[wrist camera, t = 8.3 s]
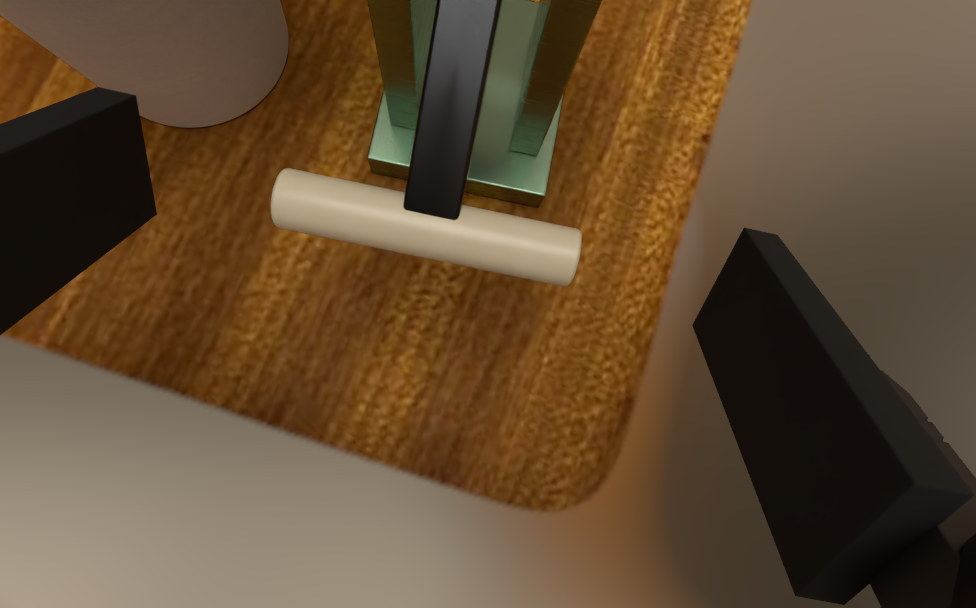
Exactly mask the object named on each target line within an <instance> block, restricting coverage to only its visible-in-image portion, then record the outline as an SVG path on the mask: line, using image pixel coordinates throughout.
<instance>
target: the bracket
mask: <svg viewBox="0 0 976 608" xmlns="http://www.w3.org/2000/svg"><path fill="white" fill-rule="evenodd" d="M367 1H368V6H369V11H370V17H371V22H372V27H373V33H374V38H375V43H376V49H377V54H378V59H379V65H380V70H381V75H382V81H383V86H384V89H383V93H382V98H381V102H380V106H379V110H378V114H377V118H376V122H375V127H374V131H373V135H372V139H371V143H370V147H369V151H368V155H367V159H368V162H369V165H370V168H371V171H372V172H374V173H379V174H384V175H388V176H393V177H398V178H402V179H407V178H408V172H409V166H410V160H411V154H412V148H413V142H414V136H415V130H416V124H417V118H418V111H419V105H420V99H421V93H422V87H423V81H424V75H425V69H426V63H427V57H428V51H429V45H430V39H431V33H432V27H433V21H434V15H435V9H436V3H437V0H367ZM601 2H602V0H540V3H538V2H534V1H530V0H503V1H502V6H501V11H500V16H499V21H498V27H497V32H496V37H495V42H494V47H493V52H492V57H491V63H490V68H489V73H488V78H487V83H486V88H485V93H484V99H483V104H482V109H481V114H480V119H479V124H478V129H477V135H476V140H475V145H474V150H473V155H472V160H471V165H470V171H469V176H468V181H467V186H466V191H465V192H468V193H473V194H478V195H482V196H487V197H492V198H496V199H501V200H506V201H511V202H515V203H520V204H525V205H529V206H534V207H540V205H541V203H542V201H543V199H544V197H545V196H546V190H547V185H548V179H549V174H550V168H551V163H552V157H553V152H554V146H555V141H556V135H557V129H558V124H559V118H560V113H561V107H562V102H563V96H564V91H565V89H566V86H567V84H568V81H569V79H570V77H571V74H572V72H573V69H574V67H575V64H576V62H577V60H578V57H579V55H580V52H581V50H582V48H583V45H584V43H585V40H586V38H587V36H588V33H589V31H590V28H591V26H592V23H593V21H594V19H595V16H596V14H597V11H598V9H599V7H600V4H601Z"/></svg>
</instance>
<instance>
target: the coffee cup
mask: <svg viewBox="0 0 976 608" xmlns="http://www.w3.org/2000/svg"><path fill="white" fill-rule="evenodd" d="M0 16H2V17H3V18H4V19H6V20H7V21H9V22H10V23H11V24H13V25H14V26H15V27H17V28H18V29H20V30H21V31H22V32H24V33H25V34H27V35H28V36H29V37H31V38H32V39H33V40H35V41H36V42H38V43H39V44H40V45H42V46H43V47H44V48H46V49H47V50H49V51H50V52H51V53H53V54H54V55H56V56H57V57H58V58H60V59H61V60H62V61H64V62H65V63H67V64H68V65H69V66H71V67H72V68H73V69H75V70H76V71H78V72H79V73H80V74H82V75H83V76H85V77H86V78H87V79H89V80H90V81H91V82H93V83H94V84H96V85H97V86H98V87H101V88H105V89H110V90H114V91H119V92H123V93H128V94H133V95H136V98H137V104H138V109H139V115H140V116H142V117H144V118H146V119H149V120H151V121H154V122H157V123H160V124H164V125H168V126H174V127H183V128H196V127H206V126H212V125H216V124H220V123H223V122H226V121H229V120H232V119H234V118H236V117H238V116H240V115H242V114H244V113H246V112H247V111H249V110H250V109H252V108H253V107H254V106H256V105H257V104H258V103H259V102H261V101H262V100H263V99H264V98H265V97H266V96H267V95H268V93H269V92H270V91H271V90H272V88H273V87H274V86H275V84H276V83H277V81H278V79H279V77H280V76H281V73H282V71H283V69H284V66H285V63H286V59H287V55H288V47H289V36H288V28H287V23H286V19H285V15H284V12H283V8H282V5H281V1H280V0H0Z"/></svg>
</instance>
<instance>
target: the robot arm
mask: <svg viewBox="0 0 976 608" xmlns="http://www.w3.org/2000/svg"><path fill="white" fill-rule="evenodd" d="M156 214H157V212H156V207H155V201H154V195H153V189H152V184H151V178H150V172H149V167H148V161H147V155H146V149H145V144H144V138H143V132H142V126H141V121H140V115H139V109H138V104H137V98H136V95H133V94H128V93H123V92H119V91H114V90H110V89H105V88H101V87H97V88H94V89H92V90H89V91H87V92H84V93H81V94H79V95H76V96H73V97H71V98H68V99H66V100H63V101H60V102H58V103H55V104H52V105H50V106H47V107H44V108H42V109H39V110H37V111H34V112H31V113H29V114H26V115H23V116H21V117H18V118H16V119H13V120H10V121H8V122H5V123H2V124H0V335H1V334H2V333H4V332H5V331H6V330H8V329H9V328H10V327H11V326H13V325H14V324H15V323H17V322H18V321H19V320H20V319H22V318H23V317H24V316H26V315H27V314H28V313H30V312H31V311H32V310H33V309H35V308H36V307H37V306H39V305H40V304H41V303H42V302H44V301H45V300H46V299H48V298H49V297H50V296H52V295H53V294H54V293H55V292H57V291H58V290H59V289H61V288H62V287H63V286H65V285H66V284H67V283H68V282H70V281H71V280H72V279H74V278H75V277H76V276H77V275H79V274H80V273H81V272H83V271H84V270H85V269H87V268H88V267H89V266H90V265H92V264H93V263H94V262H96V261H97V260H98V259H99V258H101V257H102V256H103V255H105V254H106V253H107V252H109V251H110V250H111V249H112V248H114V247H115V246H116V245H118V244H119V243H120V242H121V241H123V240H124V239H125V238H127V237H128V236H129V235H131V234H132V233H133V232H134V231H136V230H137V229H138V228H140V227H141V226H142V225H144V224H145V223H146V222H147V221H149V220H150V219H151V218H153V217H154V216H155V215H156ZM693 328H694V331H695V333H696V335H697V338H698V341H699V344H700V346H701V349H702V352H703V354H704V357H705V360H706V362H707V365H708V367H709V370H710V373H711V375H712V378H713V381H714V383H715V386H716V388H717V391H718V394H719V396H720V399H721V401H722V404H723V407H724V409H725V412H726V415H727V417H728V419H729V423H730V425H731V428H732V431H733V433H734V435H735V438H736V441H737V444H738V446H739V449H740V451H741V454H742V457H743V459H744V462H745V465H746V467H747V470H748V473H749V475H750V478H751V480H752V483H753V486H754V488H755V491H756V494H757V496H758V499H759V502H760V504H761V507H762V509H763V512H764V515H765V517H766V520H767V523H768V525H769V528H770V530H771V533H772V536H773V538H774V541H775V543H776V546H777V549H778V551H779V554H780V557H781V559H782V562H783V565H784V567H785V570H786V572H787V575H788V578H789V580H790V583H791V586H792V588H793V591H794V594H795V596H799V597H804V598H810V599H816V600H820V601H826V602H832V603H837V604H842V605H845V604H846V603H847V602H848V601H849V600H850V599H852V598H853V597H854V596H855V595H856V594H858V593H859V592H860V591H861V590H862V589H864V588H865V587H866V586H867V585H868V584H870V585H871V587H872V589H873V591H874V593H875V595H876V597H877V599H878V601H879V603H880V605H881V608H976V478H975V477H974V476H973V474H972V473H971V472H970V470H969V469H968V468H967V467H966V465H965V464H964V463H963V461H962V460H961V459H960V458H959V456H958V455H957V454H956V453H955V451H954V450H953V449H952V448H951V446H950V445H949V444H948V443H946V442H943V438H944V437H943V436H942V435H941V434H940V432H939V431H938V430H937V429H936V427H935V426H934V424H933V423H932V422H928V421H927V419H928V417H927V416H926V414H925V413H924V412H923V411H922V409H921V408H920V407H919V405H918V404H917V403H916V402H915V400H914V399H913V398H912V397H911V395H910V394H909V393H908V392H907V391H906V390H904V389H903V388H902V387H901V386H900V385H899V384H897V383H896V382H895V381H894V380H893V379H891V378H890V377H889V376H888V375H887V374H885V373H884V372H883V371H881V370H879V368H878V367H877V366H876V364H875V363H874V362H873V360H872V359H871V358H870V356H869V355H868V354H867V352H866V351H865V350H864V349H863V347H862V346H861V345H860V343H859V342H858V341H857V339H856V338H855V337H854V335H853V334H852V333H851V331H850V330H849V329H848V327H847V326H846V325H845V324H844V322H843V321H842V319H841V318H840V317H839V316H838V314H837V313H836V312H835V310H834V309H833V308H832V306H831V305H830V304H829V302H828V301H827V300H826V298H825V297H824V296H823V295H822V293H821V292H820V291H819V289H818V288H817V287H816V285H815V284H814V283H813V281H812V280H811V279H810V277H809V276H808V275H807V273H806V272H805V271H804V269H803V268H802V267H801V265H800V264H799V263H798V261H797V260H796V259H795V258H794V256H793V255H792V254H791V252H790V251H789V250H788V248H787V247H786V246H785V244H784V243H783V242H782V240H781V239H780V238H779V237H778V235H775V234H770V233H766V232H761V231H756V230H752V229H748V228H744V229H743V231H742V233H741V234H740V236H739V238H738V240H737V242H736V244H735V246H734V248H733V250H732V252H731V253H730V255H729V257H728V259H727V261H726V263H725V265H724V267H723V269H722V270H721V272H720V274H719V276H718V278H717V280H716V282H715V284H714V285H713V287H712V289H711V291H710V293H709V295H708V297H707V299H706V301H705V303H704V304H703V306H702V308H701V310H700V312H699V314H698V316H697V318H696V319H695V321H694V323H693Z"/></svg>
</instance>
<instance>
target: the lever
mask: <svg viewBox="0 0 976 608" xmlns="http://www.w3.org/2000/svg"><path fill="white" fill-rule="evenodd" d="M502 1H503V0H437V3H436V9H435V15H434V21H433V27H432V33H431V39H430V45H429V51H428V57H427V63H426V69H425V75H424V81H423V87H422V93H421V99H420V105H419V111H418V118H417V124H416V130H415V136H414V142H413V148H412V154H411V160H410V166H409V172H408V178H407V184H406V190H405V192H400V191H395V190H391V189H386V188H381V187H376V186H372V185H367V184H362V183H358V182H353V181H348V180H343V179H339V178H334V177H329V176H324V175H320V174H315V173H310V172H305V171H301V170H296V169H291V168H286V169H283V170H282V171H281V172H280V173H279V175H278V177H277V179H276V181H275V184H274V187H273V191H272V197H271V216H272V221H273V223H274V225H275V226H277V227H278V228H281V229H286V230H291V231H296V232H301V233H306V234H310V235H315V236H320V237H325V238H330V239H335V240H340V241H345V242H349V243H354V244H359V245H364V246H369V247H374V248H379V249H384V250H388V251H393V252H398V253H403V254H408V255H413V256H418V257H423V258H427V259H432V260H437V261H442V262H447V263H452V264H457V265H462V266H466V267H471V268H476V269H481V270H486V271H491V272H496V273H501V274H505V275H510V276H515V277H520V278H525V279H530V280H535V281H540V282H544V283H549V284H554V285H559V286H564V287H565V286H568V285H569V284H570V283H571V281H572V280H573V278H574V275H575V272H576V269H577V266H578V262H579V258H580V253H581V245H582V237H581V232H580V231H579V230H578V229H575V228H571V227H566V226H561V225H556V224H552V223H547V222H542V221H537V220H533V219H528V218H523V217H518V216H514V215H509V214H504V213H500V212H495V211H490V210H485V209H481V208H476V207H471V206H466V205H463V201H464V196H465V191H466V186H467V181H468V176H469V171H470V165H471V160H472V155H473V150H474V145H475V140H476V135H477V129H478V124H479V119H480V114H481V109H482V104H483V99H484V93H485V88H486V83H487V78H488V73H489V68H490V63H491V57H492V52H493V47H494V42H495V37H496V32H497V27H498V21H499V16H500V11H501V6H502Z"/></svg>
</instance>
